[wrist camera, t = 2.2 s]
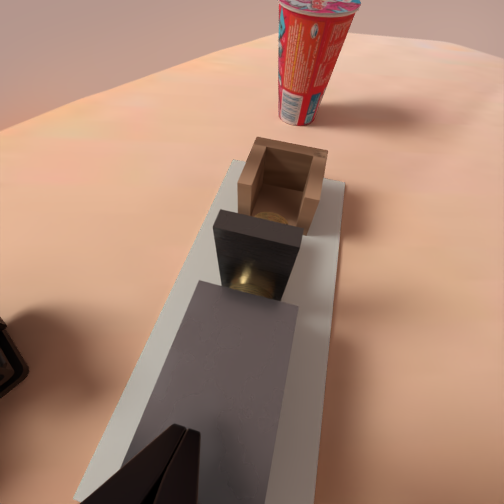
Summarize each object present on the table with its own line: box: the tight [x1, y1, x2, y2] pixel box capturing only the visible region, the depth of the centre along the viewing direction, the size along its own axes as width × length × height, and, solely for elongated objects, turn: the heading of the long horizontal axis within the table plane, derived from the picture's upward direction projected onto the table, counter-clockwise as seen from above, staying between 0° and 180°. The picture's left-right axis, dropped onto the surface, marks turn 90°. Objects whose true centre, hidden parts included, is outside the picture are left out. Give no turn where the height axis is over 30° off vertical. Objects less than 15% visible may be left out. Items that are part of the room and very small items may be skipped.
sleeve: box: [120, 280, 299, 504], centre depth 15 cm, size 10×6×5 cm, turn 165°
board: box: [73, 159, 345, 504], centre depth 21 cm, size 30×13×1 cm, turn 165°
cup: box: [277, 0, 361, 126], centre depth 30 cm, size 9×8×12 cm
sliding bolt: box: [213, 209, 304, 301], centre depth 15 cm, size 17×4×9 cm, turn 165°
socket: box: [237, 137, 328, 236], centre depth 24 cm, size 6×7×5 cm
